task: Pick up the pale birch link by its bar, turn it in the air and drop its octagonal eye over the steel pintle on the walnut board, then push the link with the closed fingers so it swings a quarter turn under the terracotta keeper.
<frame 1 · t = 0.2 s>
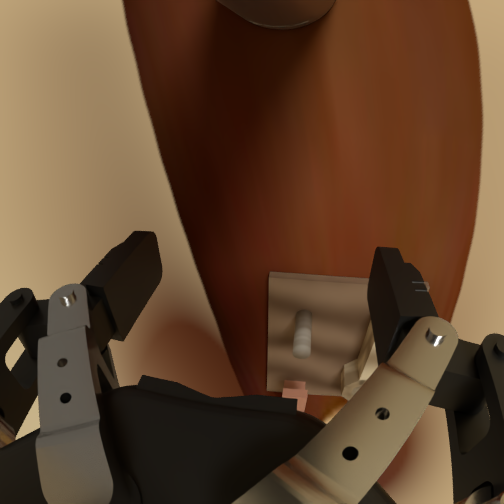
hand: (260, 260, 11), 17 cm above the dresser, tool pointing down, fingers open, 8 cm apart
birch link: (375, 335, 35), point 1 cm above the dresser, touching hinge base
keeper: (296, 369, 42), resting on hinge base
hinge base: (337, 345, 38), on the dresser
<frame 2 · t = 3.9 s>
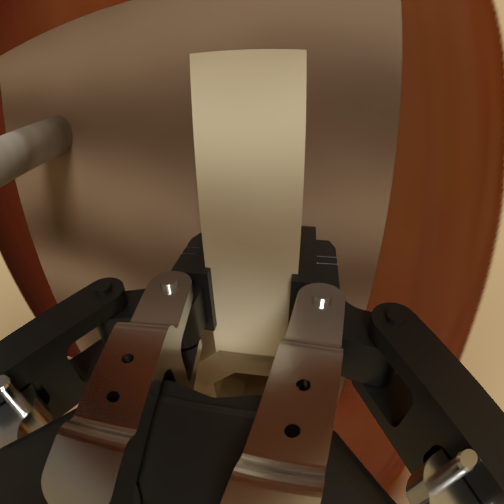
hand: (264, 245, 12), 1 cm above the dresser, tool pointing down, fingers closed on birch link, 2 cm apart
birch link: (265, 194, 11), point 1 cm above the dresser, touching gripper, hinge base
hinge base: (176, 249, 14), on the dresser
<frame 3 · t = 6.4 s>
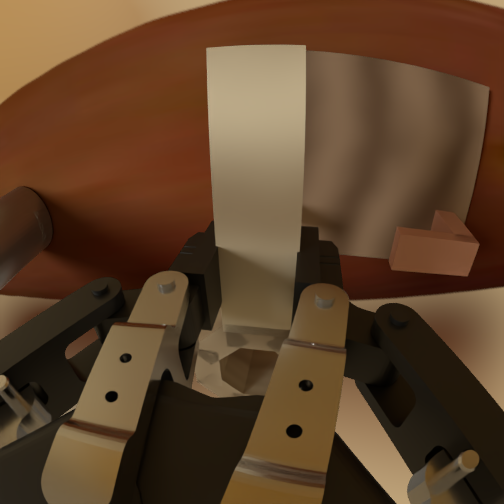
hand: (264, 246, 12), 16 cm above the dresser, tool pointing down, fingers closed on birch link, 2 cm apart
birch link: (269, 179, 12), point 14 cm above the dresser, touching gripper
keeper: (414, 218, 26), resting on hinge base
hinge base: (360, 159, 25), on the dresser
when the fingers open (3 cm above the dresser, at t = 9.3 s): birch link stays where it is, resting on hinge base.
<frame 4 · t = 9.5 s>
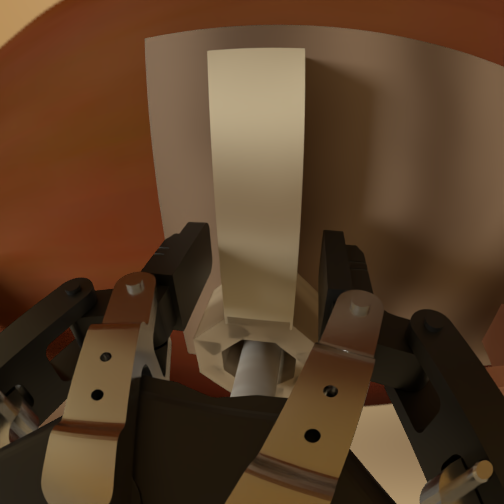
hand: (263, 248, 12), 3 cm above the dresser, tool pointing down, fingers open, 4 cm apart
birch link: (270, 176, 12), point 1 cm above the dresser, touching hinge base
keeper: (467, 312, 15), resting on hinge base
hinge base: (398, 233, 14), on the dresser
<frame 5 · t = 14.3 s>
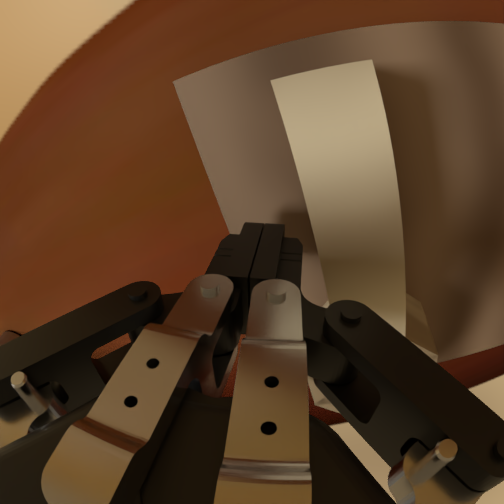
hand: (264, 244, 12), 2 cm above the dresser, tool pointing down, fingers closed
birch link: (347, 194, 12), point 1 cm above the dresser, touching gripper, hinge base
hinge base: (471, 217, 12), on the dresser
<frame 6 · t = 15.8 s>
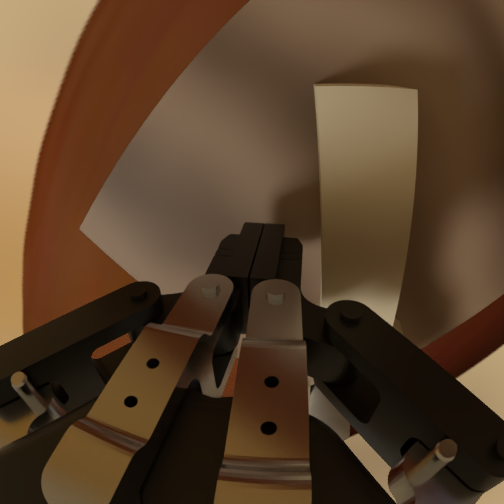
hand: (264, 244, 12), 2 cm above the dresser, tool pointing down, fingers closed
birch link: (353, 208, 12), point 1 cm above the dresser, touching gripper
hinge base: (368, 197, 13), on the dresser
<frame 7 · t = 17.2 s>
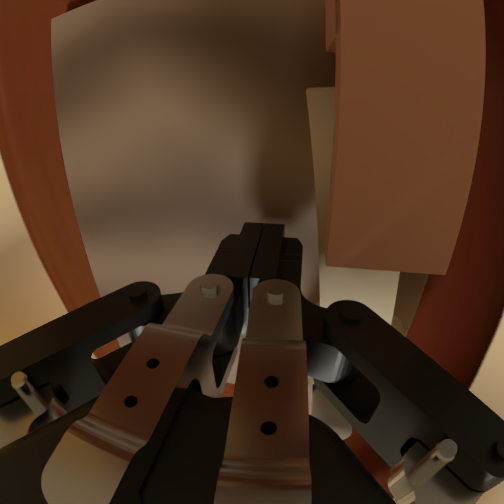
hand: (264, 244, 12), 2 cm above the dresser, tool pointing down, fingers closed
birch link: (350, 208, 12), point 1 cm above the dresser, touching gripper, hinge base
keeper: (362, 94, 11), resting on hinge base
hinge base: (243, 223, 14), on the dresser
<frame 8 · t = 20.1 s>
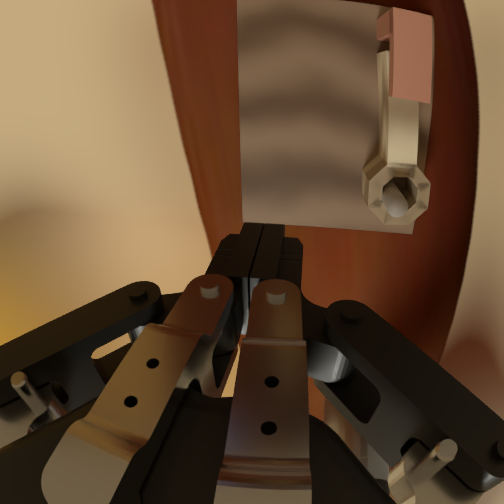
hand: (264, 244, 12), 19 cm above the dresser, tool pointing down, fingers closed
birch link: (392, 106, 24), point 1 cm above the dresser, touching hinge base
keeper: (390, 58, 22), resting on hinge base
hinge base: (337, 114, 26), on the dresser
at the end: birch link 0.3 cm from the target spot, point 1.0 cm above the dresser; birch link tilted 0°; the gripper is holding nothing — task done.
